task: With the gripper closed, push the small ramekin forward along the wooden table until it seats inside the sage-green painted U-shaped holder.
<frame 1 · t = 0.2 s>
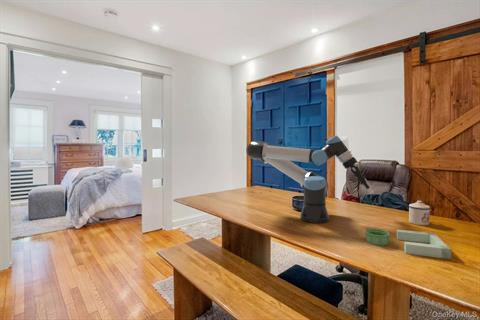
hand: (371, 191, 139), 15 cm above the table, tool tilted 35°, fingers open, 13 cm apart
teacup with lid: (420, 223, 131), on the table
ramekin: (377, 242, 105), on the table
holder: (419, 246, 99), on the table
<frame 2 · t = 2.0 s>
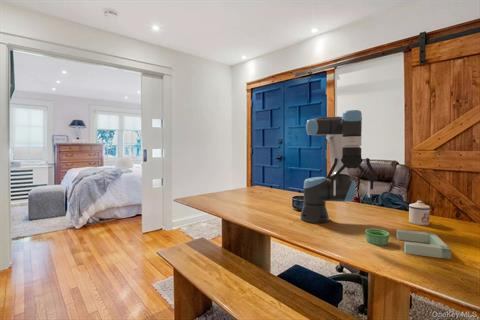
hand: (351, 196, 108), 19 cm above the table, tool pointing down, fingers open, 13 cm apart
nothing on the table moved.
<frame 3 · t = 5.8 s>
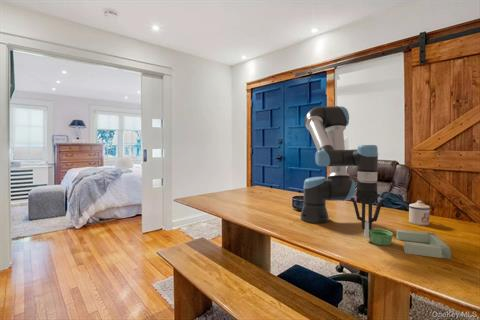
hand: (366, 236, 106), 2 cm above the table, tool pointing down, fingers closed
ramekin: (380, 242, 105), on the table, touching gripper
everything else where it was.
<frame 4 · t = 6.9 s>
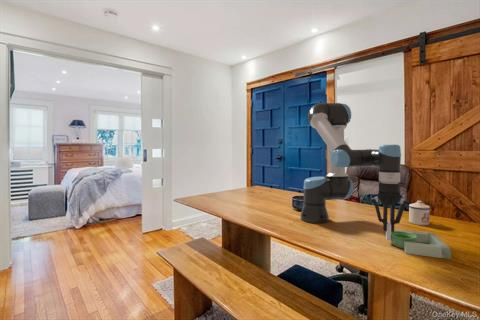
hand: (388, 239, 103), 2 cm above the table, tool pointing down, fingers closed
ramekin: (402, 245, 101), on the table, touching gripper
everything else where it was.
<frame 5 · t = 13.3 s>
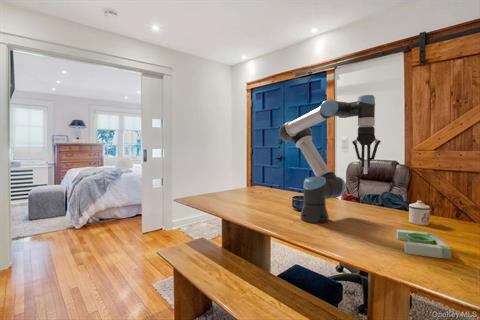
hand: (365, 173, 126), 26 cm above the table, tool pointing down, fingers closed
ramekin: (420, 247, 99), on the table
everything else where it was.
at the end: ramekin inside the target area on the holder (1.3 cm from its centre), point 0.0 cm above the holder's base; ramekin tilted 0° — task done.
